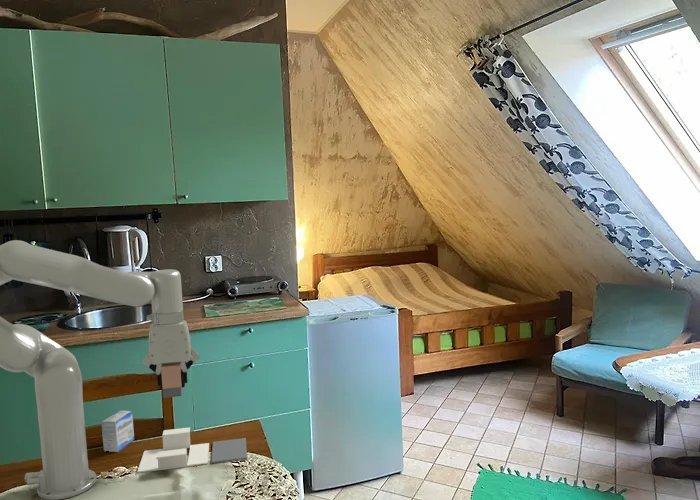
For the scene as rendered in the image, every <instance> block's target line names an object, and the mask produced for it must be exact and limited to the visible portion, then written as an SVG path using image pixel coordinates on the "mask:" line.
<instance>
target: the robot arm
mask: <svg viewBox="0 0 700 500" xmlns="http://www.w3.org/2000/svg"><path fill="white" fill-rule="evenodd" d="M13 280H15V281H19V282H23V283H28V284H32V285H33V284H34V285H38V286H41V287H46V288H47V287H48V288H51V289H55V290H56V289H57V290H60V291H61V290H62V291H64V292H70V293H73V294H76V295H82V296H85V297H90V298H94V299H98V300H102V301H106V302H112V303H115V304H119V305H120V304H121V305H124V306H131V307H142V306H145V305H147V304H149V302H151V314H146V321H150V322H152V323H151V324H150V325H149V329H148V352H147V353H146V354H145V356H144V358H143V359H142V362H141V365H143V366H145V367H147V368H149V369H150V370H151V371H152V372H154V373H155V374H156V375H157V376H156V378H157V386H158V387H159V386H160V390H161V391H163V388H162V374H161V366H162V364H168V363H178V362H180V365H181V368H182V369H181V385H182V388H183V389H184V388H185V387H186V384H188V380H189V379H188V370H189V369H190V368H191V367H192V366H193V364H195V363H197V362H198V360H200V357H201V356H200V353H198V352H197V350H195V348H193V345H192V343H191V336H190V331H189V330H190V329H189V326H188V322H187V321H186V320H185V319H184V318H185V317H184V304H183V292H182V291H183V289H182V287H183V286H182V276H181V272H180V271H179V270H176V269H172V268H171V269H170V268H169V269H159V270H155V271H134V270H133V271H128V272H127V271H123V270H120V269H119V270H118V269H114V268H111V267H108V266H104V265H102V264H101V265H100V264H99V263H96V262H94V261H91V260H89V259H87V258H85V257H82V256H79V255H75V254H71V253H68V252H67V253H66V252H62V251H59V250H58V251H57V250H55V249H50V248H46V247H42V246H37V245H33V244H30V243H28V242H27V241H24V240H20V239H19V240H17V239H14V240H10V241H7V242H5V243H3V244H0V286H2V285H4V284H7V283H8V282H9V283H10V282H11V281H13ZM0 368H1V369H3V370H5V371H7V372H11V373H22V372H23V373H25V374H27V375H29V376H31V377H32V378H34V391H35V393H34V394H35V398H36V399H35V401H36V410H37V419H38V430H39V439H40V449H41V461H42V469H40V471H35V472H33V471H32V472H26V473H25V474H24V482H25V483H26V486H32V485H38V486H37V488H36V491H37V495H38V497H39V498H41V499H44V500H62V499H63V500H64V499H67V498H71V497H75V496H77V495H80V494H82V493H84V492H86V491H87V490H89V489H90V488H92V487H93V486H94V485H95V483H96V482H97V473H96V472H95V471H94V470H92V469H89V459H88V448H87V445H88V444H87V435H86V422H85V411H84V399H83V397H84V396H83V377H82V372H81V369H80V365H79V363H78V360H77V359H76V356H75V355H74V354H73V353H72V352H70V351H69V349H67V348H65V347H64V346H62V345H61V344H59V343H57V342H56V341H55V340H53V339H51V338H50V337H48V336H47V335H45V334H44V333H42V332H41V331H39V330H38V329H36V328H34V327H32V326H31V325H28V324H24V323H23V324H22V323H15V324H13V323H11V322H9V320H8V321H7V320H6V319H5V318H4V317H2V316H1V315H0Z"/></svg>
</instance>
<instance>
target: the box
mask: <svg viewBox="0 0 700 500" xmlns="http://www.w3.org/2000/svg"><path fill="white" fill-rule="evenodd" d="M181 369H182V368H181V365H180V362H178V363H168V364H162V366H161V374H162V388H163V390H162V399H164V398H165V399H167V398H173V397H174V398H175V397H183V392H184V387H183V388H182V385H181Z"/></svg>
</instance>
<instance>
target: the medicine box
mask: <svg viewBox="0 0 700 500" xmlns="http://www.w3.org/2000/svg"><path fill="white" fill-rule="evenodd" d="M133 418H134V417H133V411H131V410H119V411H117V412H115V413H113V414H112V415H111V416H109V417H107V418H106V419H104V420H102V421H101V431H102V432H101V433H102V435H101V436H102V443H103V445H102V446H103V452H106V451H109V453H119V452H121V451H122V450H123V449H124V448H126V447H127V446H128V445H130V444H131V443H132V442H133V441H134V440H135V432H134V419H133Z"/></svg>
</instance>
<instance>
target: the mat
mask: <svg viewBox="0 0 700 500" xmlns="http://www.w3.org/2000/svg"><path fill="white" fill-rule="evenodd" d="M247 448H248V447H247V438H246V437H242V438H235V439H227V440H226V439H225V440H219V441H218V440H217V441H212V449H211V465H214V464H220V463H219V462H222V463H226V462H225V461H230V462H233V461H232V460H238V459H246V460H248V450H247ZM238 461H239V460H238ZM213 463H214V464H213Z"/></svg>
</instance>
